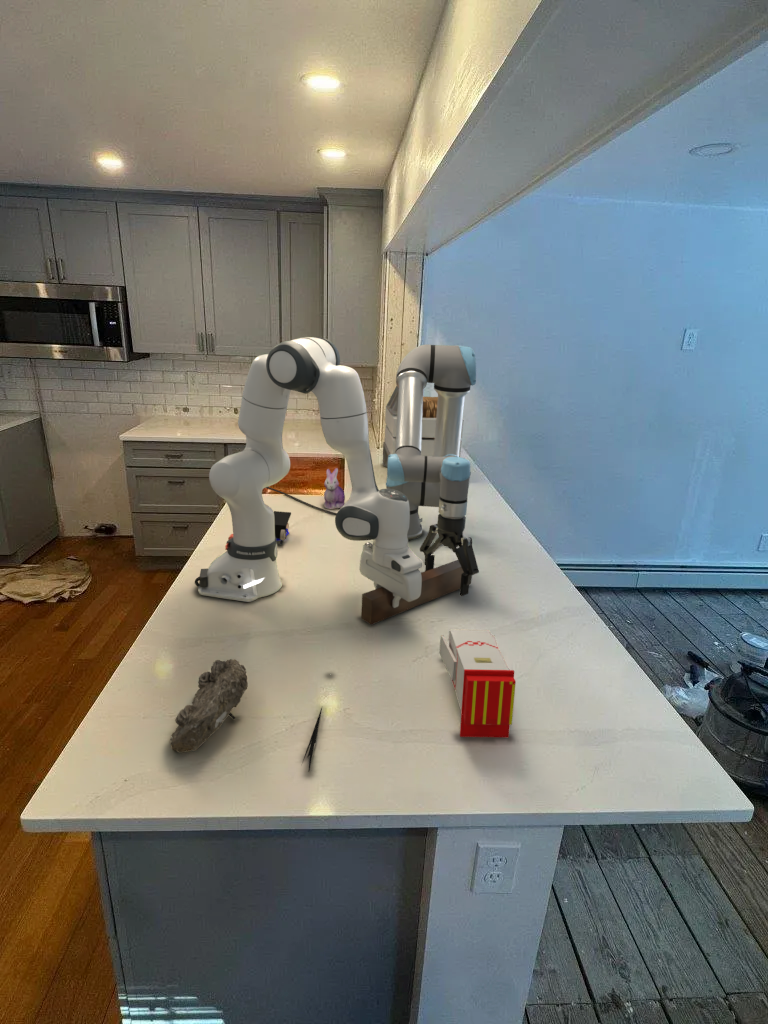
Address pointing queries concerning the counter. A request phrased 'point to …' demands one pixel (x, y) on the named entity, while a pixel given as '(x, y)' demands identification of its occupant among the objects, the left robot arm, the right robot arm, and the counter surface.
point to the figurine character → (281, 525)
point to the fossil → (210, 704)
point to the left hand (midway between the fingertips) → (387, 602)
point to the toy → (479, 682)
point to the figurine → (333, 491)
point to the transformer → (427, 426)
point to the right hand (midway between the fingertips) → (445, 585)
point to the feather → (313, 740)
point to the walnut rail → (432, 587)
